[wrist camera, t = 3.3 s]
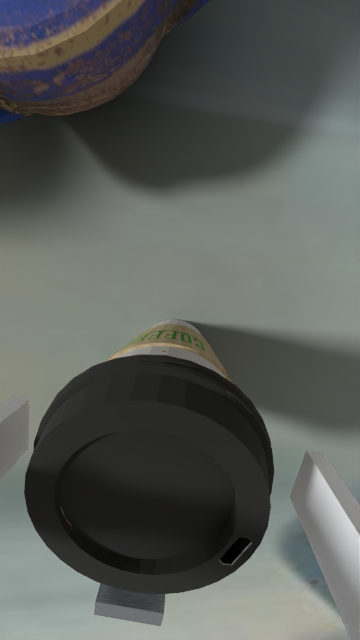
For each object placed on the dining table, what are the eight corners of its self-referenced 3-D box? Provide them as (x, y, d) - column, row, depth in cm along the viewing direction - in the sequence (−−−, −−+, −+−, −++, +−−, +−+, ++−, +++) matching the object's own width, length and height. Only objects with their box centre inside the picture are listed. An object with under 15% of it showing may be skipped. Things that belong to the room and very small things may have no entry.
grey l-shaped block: (101, 456, 26) (78, 507, 20) (206, 474, 26) (211, 530, 20) (92, 545, 29) (70, 610, 24) (185, 562, 29) (184, 630, 24)
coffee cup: (152, 280, 21) (68, 319, 6) (244, 332, 22) (356, 471, 7) (108, 366, 23) (-30, 540, 9) (192, 410, 24) (197, 637, 9)
